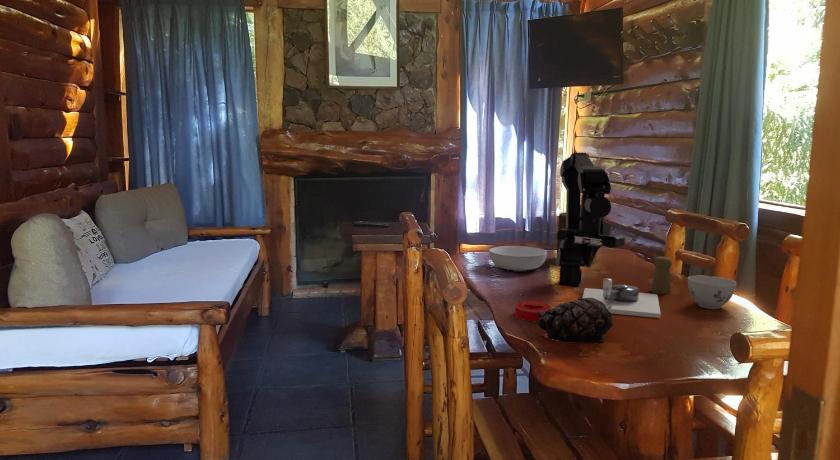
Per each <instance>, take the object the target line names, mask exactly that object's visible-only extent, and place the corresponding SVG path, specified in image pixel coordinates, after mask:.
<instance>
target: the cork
mask: <svg viewBox="0 0 840 460" xmlns="http://www.w3.org/2000/svg"><path fill="white" fill-rule="evenodd" d="M672 264H673V261H672V258H670V257H667V256H657V257H655V258H654V260H653V265H654V267H655V269H654V273H653V277H652V282H651V286H650V292H652V293H653V294H659V295H661V294H662V295H669V294H671V293H672V287H671V273H670V272H671V269H670V268H671V267H672Z"/></svg>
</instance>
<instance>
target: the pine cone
mask: <svg viewBox="0 0 840 460" xmlns="http://www.w3.org/2000/svg"><path fill="white" fill-rule="evenodd" d="M612 314H613V313H610V312H609V310H608V309H607V308H606V306H605V304H604V303H603V302H601V301H599V300H597V299H594V298H581V297H579V298H577V299H576V300H572V301H570V300H569V301H566V302H565V303H558V305H555V307H552V309H548V310H547V311H546V312H543V311H541V313H539V317H538V318H537V319H536V324H537V326H538V327H539V328H540V329H541V330H543V331H545V332H546V333H545V334H548V335H547V336H548V338H549V339H554V340H559V341H562V342H561V343H566V342H567V343H568V342H573V344H574V343H575V344H577V343H578V344H580V343H587V344H589V343H590V344H591V343H594V344H595V343H602V342H604V340H606V337H605V335H606V334H607V333H608V331H609V330H610V329H611V328H612V327H613V325H614V323H613V317H612Z"/></svg>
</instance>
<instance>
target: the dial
mask: <svg viewBox="0 0 840 460" xmlns="http://www.w3.org/2000/svg"><path fill="white" fill-rule="evenodd" d="M602 282H603V283H602V290H603V297H604V299H605V300H609V301H610V300H617V301H623V302H633V301H637V300H638V297H639V293H640V288H639V287H638V286H634V285H628V284H613V279H612V278H609V277H608V278H607V277H605V278H603V281H602Z"/></svg>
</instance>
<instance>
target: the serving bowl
mask: <svg viewBox="0 0 840 460" xmlns="http://www.w3.org/2000/svg"><path fill="white" fill-rule="evenodd" d="M488 252H489V258H490V260H491V262H492V263H493V264H494V265H495V266H497V267H498V268H501V269H504V270H506V269H507V270H506V271H509V270H513V271H512V272H527V270H528V271H532V270H535V269H537V268H539V267H541V266H542V265H543V264H544V263H545V261H546V259H547V256H548V251H547V250H545V249H543V248H539V247H532V246H523V245H522V246H520V245H504V246H503V245H502V246H495V247H492V248H491V247H490V248H489V250H488Z"/></svg>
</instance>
